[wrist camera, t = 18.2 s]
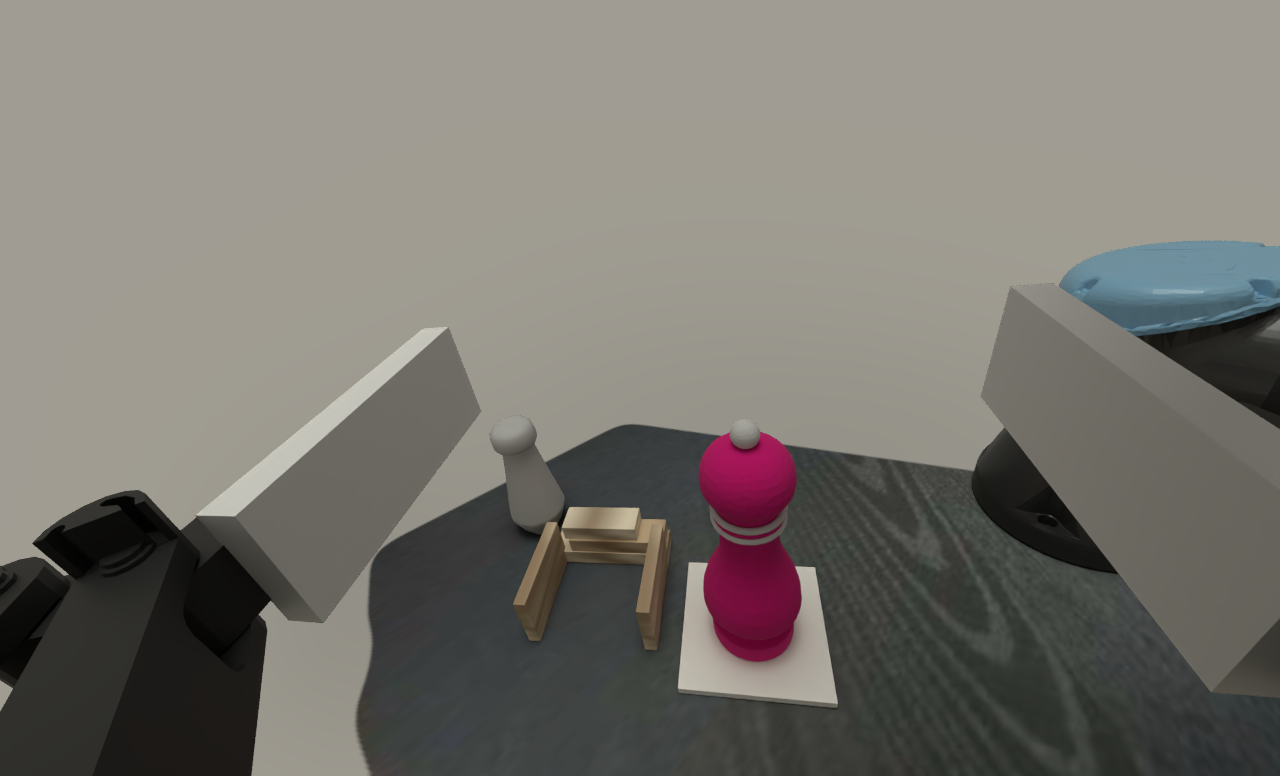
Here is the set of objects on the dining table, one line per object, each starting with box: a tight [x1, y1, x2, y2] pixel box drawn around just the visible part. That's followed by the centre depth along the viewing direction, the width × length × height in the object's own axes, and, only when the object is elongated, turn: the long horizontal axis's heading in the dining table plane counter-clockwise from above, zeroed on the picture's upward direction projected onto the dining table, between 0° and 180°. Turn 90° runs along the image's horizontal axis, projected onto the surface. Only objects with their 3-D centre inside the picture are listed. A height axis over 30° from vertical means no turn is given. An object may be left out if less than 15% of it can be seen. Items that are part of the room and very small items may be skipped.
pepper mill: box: [699, 419, 802, 662], centre depth 33 cm, size 7×7×20 cm
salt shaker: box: [490, 416, 565, 535], centre depth 49 cm, size 6×6×13 cm
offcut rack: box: [513, 507, 672, 650], centre depth 43 cm, size 11×11×5 cm
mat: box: [678, 563, 838, 708], centre depth 39 cm, size 11×11×1 cm
